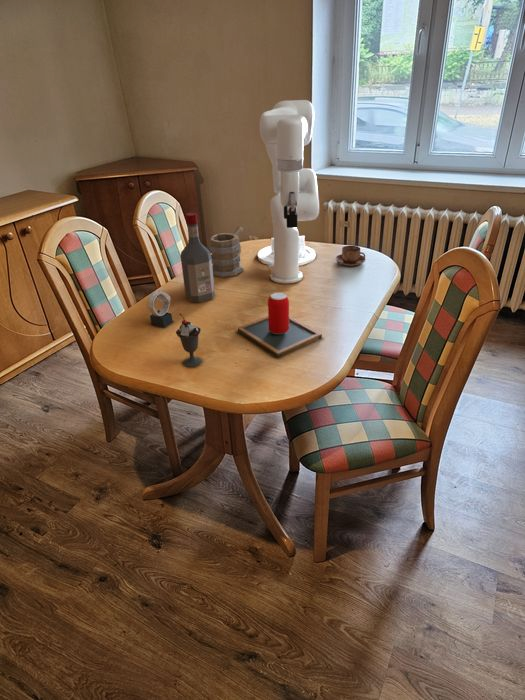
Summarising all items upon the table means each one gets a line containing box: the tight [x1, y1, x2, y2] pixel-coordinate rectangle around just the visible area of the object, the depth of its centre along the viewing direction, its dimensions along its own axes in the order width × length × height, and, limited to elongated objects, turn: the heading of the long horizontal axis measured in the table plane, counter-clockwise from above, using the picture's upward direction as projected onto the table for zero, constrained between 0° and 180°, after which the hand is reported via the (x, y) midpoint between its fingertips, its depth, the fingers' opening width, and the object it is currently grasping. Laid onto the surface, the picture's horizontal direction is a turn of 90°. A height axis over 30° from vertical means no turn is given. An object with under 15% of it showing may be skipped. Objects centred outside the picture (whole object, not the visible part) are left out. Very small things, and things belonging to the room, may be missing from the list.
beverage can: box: [267, 292, 290, 335], centre depth 137 cm, size 6×6×12 cm
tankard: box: [208, 226, 244, 278], centre depth 185 cm, size 20×13×15 cm, turn 148°
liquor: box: [180, 212, 216, 304], centre depth 158 cm, size 9×9×30 cm
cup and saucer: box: [335, 245, 366, 267], centre depth 188 cm, size 12×12×6 cm
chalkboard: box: [237, 315, 323, 359], centre depth 140 cm, size 20×17×2 cm
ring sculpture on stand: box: [147, 290, 174, 328], centre depth 147 cm, size 6×8×11 cm
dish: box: [257, 235, 317, 267], centre depth 196 cm, size 25×25×11 cm
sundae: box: [175, 313, 202, 368], centre depth 125 cm, size 7×7×15 cm
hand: (290, 222), depth 144 cm, fingers open, 9 cm apart
